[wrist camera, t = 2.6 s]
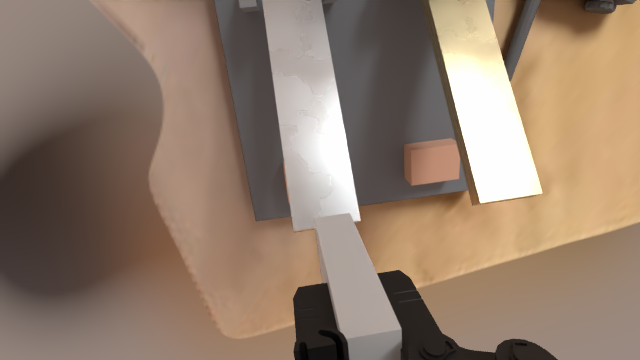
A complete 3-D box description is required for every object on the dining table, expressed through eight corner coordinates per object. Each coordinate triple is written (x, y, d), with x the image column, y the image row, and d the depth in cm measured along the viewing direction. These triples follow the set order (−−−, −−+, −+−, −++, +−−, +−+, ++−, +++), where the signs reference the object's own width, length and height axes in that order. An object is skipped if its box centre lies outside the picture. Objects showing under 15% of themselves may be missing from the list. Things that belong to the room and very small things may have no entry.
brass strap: (411, -30, 24) (418, -50, 23) (461, -35, 25) (472, -55, 23) (469, 206, 21) (483, 201, 19) (528, 197, 21) (546, 192, 19)
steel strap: (260, -15, 24) (257, -35, 22) (314, -20, 24) (314, -40, 22) (294, 233, 20) (293, 230, 18) (357, 223, 20) (361, 219, 19)
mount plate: (208, -47, 25) (191, -70, 20) (484, -72, 27) (539, -100, 21) (256, 210, 33) (253, 246, 27) (470, 180, 34) (508, 207, 29)
